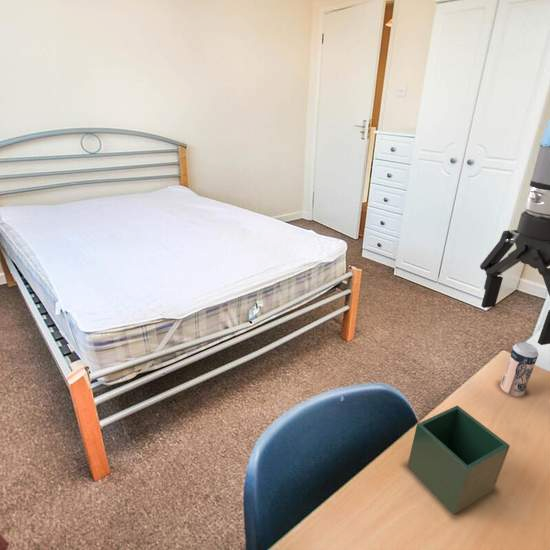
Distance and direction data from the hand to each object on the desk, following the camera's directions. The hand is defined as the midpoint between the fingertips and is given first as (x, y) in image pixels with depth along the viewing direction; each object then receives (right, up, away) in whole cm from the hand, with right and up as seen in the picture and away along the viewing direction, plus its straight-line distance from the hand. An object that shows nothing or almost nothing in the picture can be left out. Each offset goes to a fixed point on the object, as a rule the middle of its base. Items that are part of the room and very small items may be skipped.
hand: (514, 323), depth 72 cm
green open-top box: (-15, -26, -7) cm, 31 cm away
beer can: (+9, -17, +15) cm, 25 cm away
